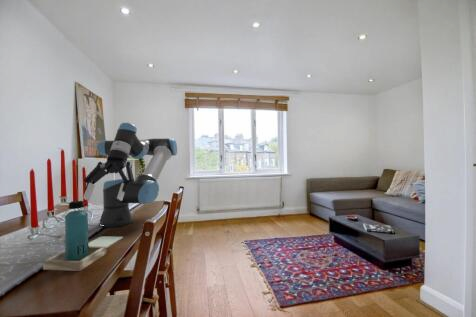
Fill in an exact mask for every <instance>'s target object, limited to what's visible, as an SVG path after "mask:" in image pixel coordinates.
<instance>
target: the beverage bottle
mask: <svg viewBox="0 0 476 317" xmlns="http://www.w3.org/2000/svg"><path fill="white" fill-rule="evenodd" d="M84 207H85V204H84V201H83V200H74V201H70V202H69V203H68V209H70V210H72V211H69V212H68V213H67V214H66V215H65V216H64V230H65V234H64V237H65V239H64V251H65V258H66V259H65V261H80V260H82V259H84V258H85V257H87V256H89V254H88V252H89V251H88V250H89V246H88V243H89V242H90V241H89V230H90V229H89V219H88V218H89V216H88V215H89V214H88V212H87V211H86V210H85V209H84V210H83V209H82V208H84ZM75 209H76V210H75ZM77 209H79V210H77Z"/></svg>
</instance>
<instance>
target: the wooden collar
mask: <svg viewBox="0 0 476 317" xmlns="http://www.w3.org/2000/svg"><path fill="white" fill-rule="evenodd" d="M88 251H89V252H88V255H87V256H86V257H84V258H82V259H79V260H74V261H67V260H66V258H65V250H64V251H62V252H60V253H58V254H55V255H53V256H52V257H49V258H48V259H45V260H44V261H42V270H44V271H45V270H46V271H76V272H77V271H79V272H80V271H82V270H83V269H86V267H88V266H89V265H91V264H93V263H94V262H95V261H97V260H99V259H100V258H102V257H103V256H105V255H106V254H107V248H106V247H103V246H89V250H88Z"/></svg>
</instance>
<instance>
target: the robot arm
mask: <svg viewBox="0 0 476 317" xmlns="http://www.w3.org/2000/svg"><path fill="white" fill-rule="evenodd" d="M137 130H138V129H137V127H136V125H135V124H133V123H130V122H122V123H121V124H119V127H118V128H117V130H116V134H115V137H114V140H100V141H98V142H97V143H96V152H97V154H99V155H101V156H106V162H102V161H98V163H96V164H97V165H96V166H95V167H94V168H93V169H92V170H91V171H90V172H89V174H87V175H86V177H85V178H84V179H83V180H82V181H83V182H85V183H86V186H85V188H84V191H85V192H84V194H83V197H82V199H84V200H86V201H89V202H90V199H91V196H92V194H93V192H94V189H95V186H96V185H95V184H96V183H97V182H98V181H100V180H101V179H102V178H104V177H105V176H106V175H109V174H119V176H120V177H121V178H119V179H112V180H107V181H105V182H104V183H103V187H102V192H103V193H102V196H103V198H102V199H103V201H102V202H103V204H102V205H103V210H102V213H101V216H100V219H99V225H100V224H101V225H104V227H103V228H115V227H116V228H117V227H121V226H125V225H129V224H131V223H132V222H133V215H132V213H131V210H130V207H129V204H142V205H143V204H152V203H154V202H155V201H156V199H157V198H158V195H159V192H160V186H159V183H158V179H159V177H160V175H161V173H162V171H163V169H164V167H165V165H166V164H167V161H169V160H170V159H171V158H172V156H177V154H178V146H177V140H176V139H175V138H170V137H169V138H148V139H139V138H138V136H137V135H136V134H137ZM129 156H131V157H133V159H136V160H140V159H142V158H144V157H145V156H152V158H151V159H150V160H149V162H148V164H147V166H146V167H145V169H144V171H143V172H142V173H141V174H139V175H137V176H136V178H134V173H133V170H132V168H133V164H132V163H131V162H130V161H128V158H129ZM124 168H125V169H126V173H127V176H126V174H125V171H124V170H123V169H124Z"/></svg>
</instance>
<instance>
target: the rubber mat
mask: <svg viewBox="0 0 476 317" xmlns="http://www.w3.org/2000/svg"><path fill="white" fill-rule="evenodd" d="M122 239H124V236H108V235H107V236H102V235H101V236H99V237H96V238H95V239H94V240H91V241H89V243H88V246H103V247H106V249H107V248H109V247H111V246H112V245H114V244H115V243H118V242H119V241H120V240H122Z"/></svg>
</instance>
